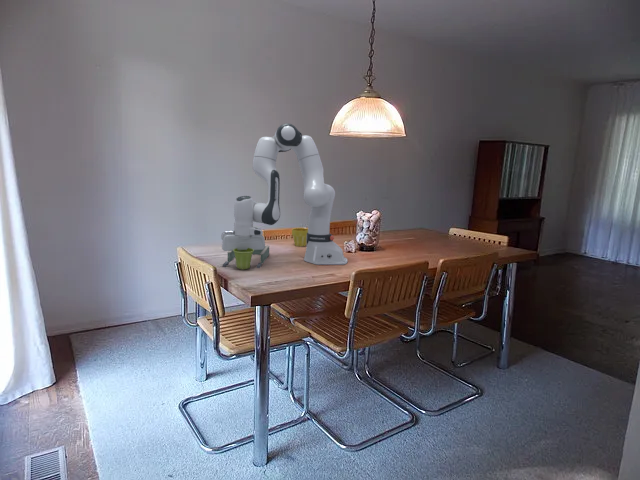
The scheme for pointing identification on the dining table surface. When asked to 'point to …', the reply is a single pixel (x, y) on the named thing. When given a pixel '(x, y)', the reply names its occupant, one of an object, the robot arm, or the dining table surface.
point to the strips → (228, 263)
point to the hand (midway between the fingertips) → (243, 259)
